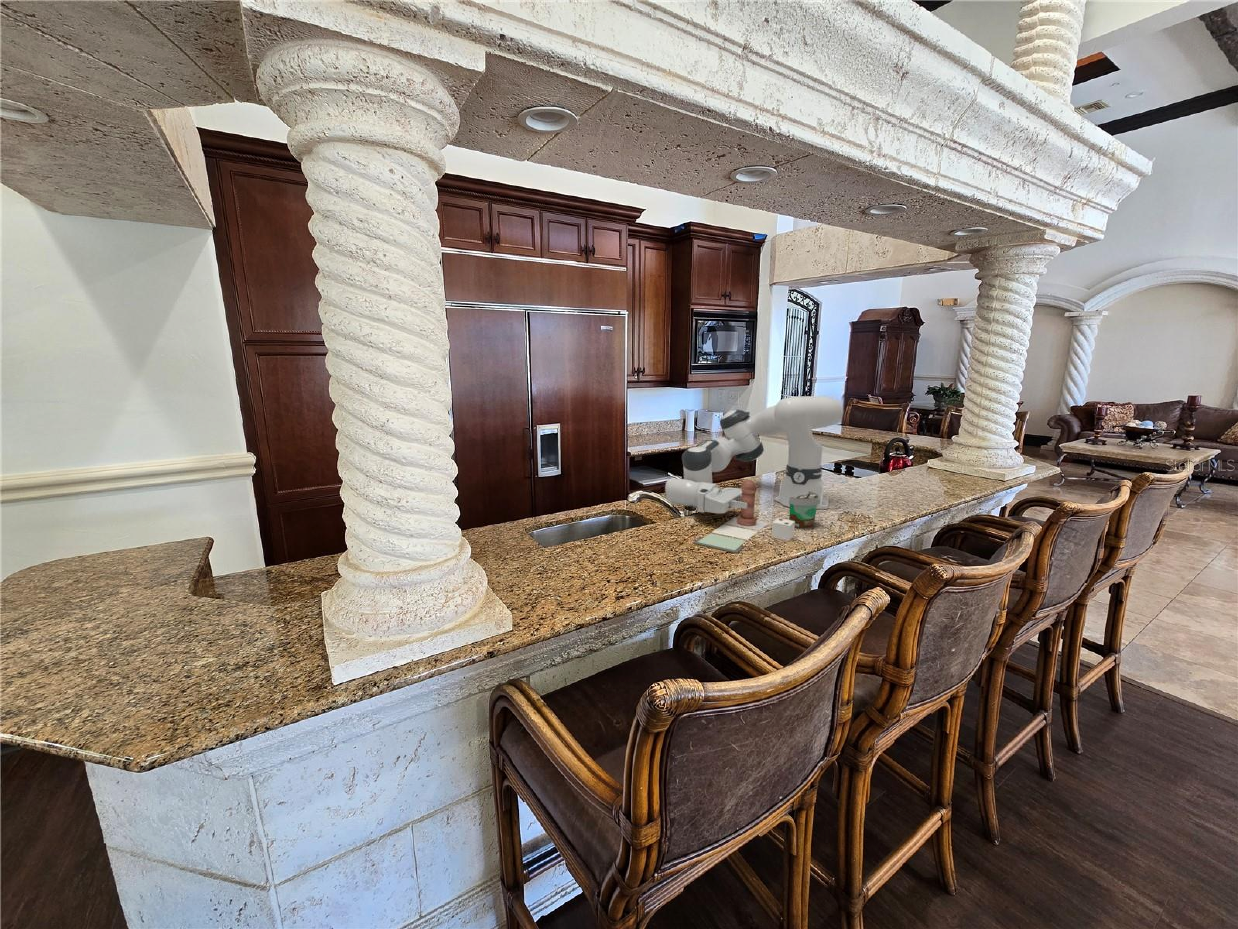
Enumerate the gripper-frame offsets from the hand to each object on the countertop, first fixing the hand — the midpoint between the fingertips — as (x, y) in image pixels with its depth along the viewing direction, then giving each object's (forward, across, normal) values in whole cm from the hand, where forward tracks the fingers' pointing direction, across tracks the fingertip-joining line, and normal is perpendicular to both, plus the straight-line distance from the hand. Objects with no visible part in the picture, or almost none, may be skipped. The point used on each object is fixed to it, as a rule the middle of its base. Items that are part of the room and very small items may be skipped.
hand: (750, 503), depth 155 cm
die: (+12, +6, -7) cm, 15 cm away
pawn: (-1, 0, -7) cm, 7 cm away
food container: (+15, -9, -7) cm, 19 cm away
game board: (-1, +10, -7) cm, 12 cm away
